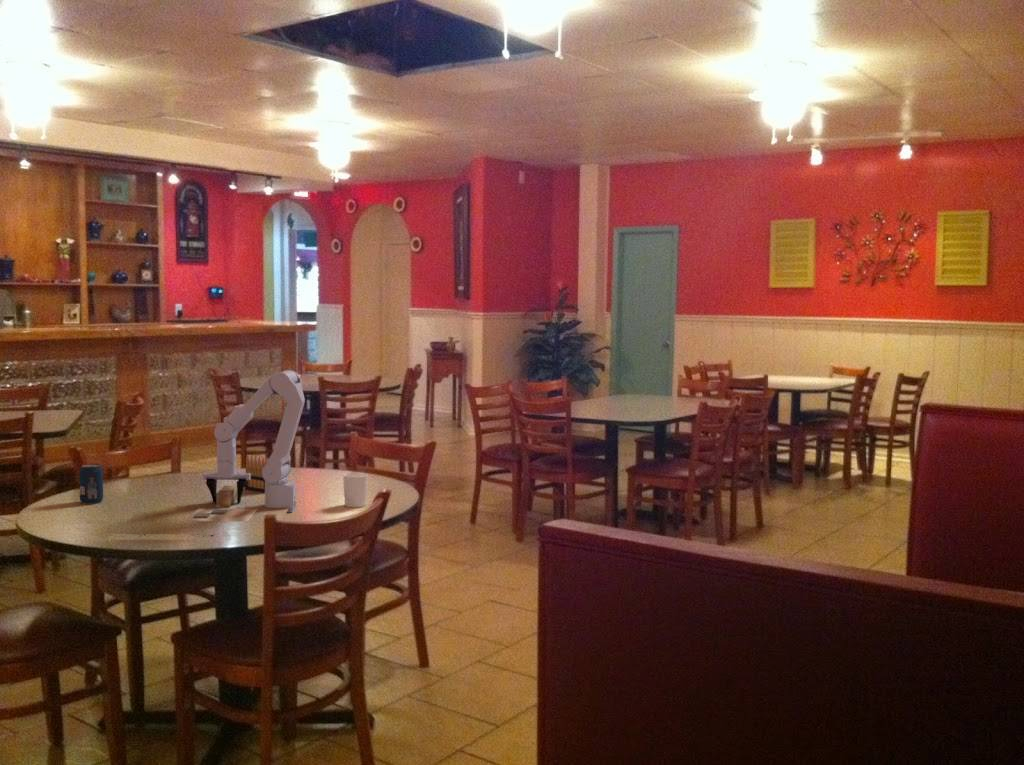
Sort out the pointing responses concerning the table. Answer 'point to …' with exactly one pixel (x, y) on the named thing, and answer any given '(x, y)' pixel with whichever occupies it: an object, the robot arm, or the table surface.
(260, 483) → the ammunition clip
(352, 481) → the white cup
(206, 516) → the charcoal chip
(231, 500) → the block
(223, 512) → the charcoal chip
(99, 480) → the soda can
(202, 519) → the birch board
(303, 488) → the table surface
